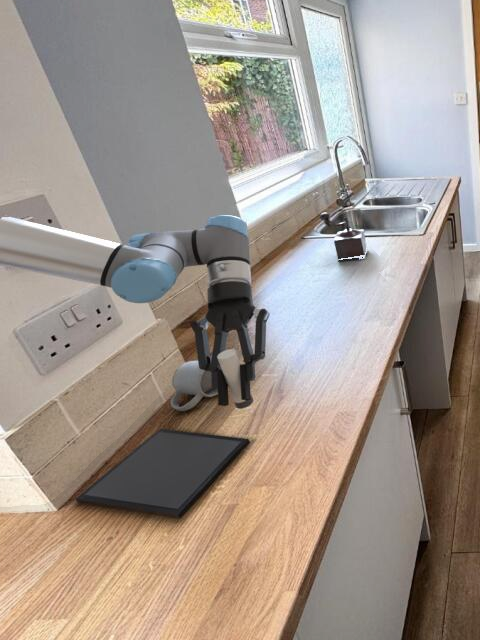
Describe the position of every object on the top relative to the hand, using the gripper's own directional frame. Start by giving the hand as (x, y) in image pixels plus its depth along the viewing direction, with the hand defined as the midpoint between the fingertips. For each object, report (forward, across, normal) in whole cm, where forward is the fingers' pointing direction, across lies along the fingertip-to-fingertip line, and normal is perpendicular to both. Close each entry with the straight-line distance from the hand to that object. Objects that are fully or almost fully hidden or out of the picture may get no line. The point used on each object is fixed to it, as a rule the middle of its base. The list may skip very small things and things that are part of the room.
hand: (234, 402), depth 76 cm
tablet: (+9, -12, +4) cm, 15 cm away
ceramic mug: (-6, -12, +19) cm, 24 cm away
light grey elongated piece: (0, 0, +5) cm, 5 cm away
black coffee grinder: (-57, +19, +70) cm, 93 cm away
